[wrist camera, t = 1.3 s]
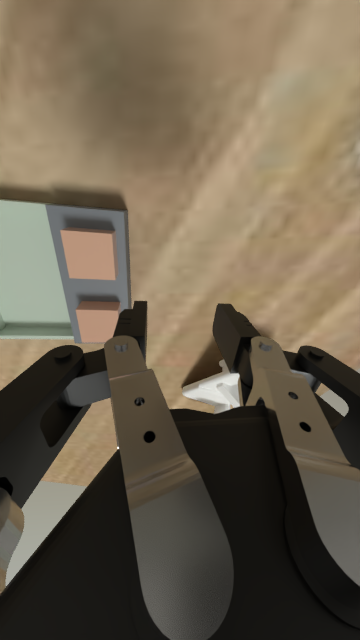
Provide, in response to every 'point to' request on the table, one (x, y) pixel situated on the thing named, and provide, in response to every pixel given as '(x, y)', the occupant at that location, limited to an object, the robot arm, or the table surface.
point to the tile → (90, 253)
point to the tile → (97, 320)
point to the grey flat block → (91, 288)
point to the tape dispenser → (216, 390)
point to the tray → (30, 275)
